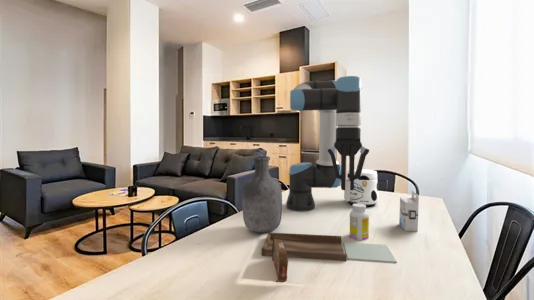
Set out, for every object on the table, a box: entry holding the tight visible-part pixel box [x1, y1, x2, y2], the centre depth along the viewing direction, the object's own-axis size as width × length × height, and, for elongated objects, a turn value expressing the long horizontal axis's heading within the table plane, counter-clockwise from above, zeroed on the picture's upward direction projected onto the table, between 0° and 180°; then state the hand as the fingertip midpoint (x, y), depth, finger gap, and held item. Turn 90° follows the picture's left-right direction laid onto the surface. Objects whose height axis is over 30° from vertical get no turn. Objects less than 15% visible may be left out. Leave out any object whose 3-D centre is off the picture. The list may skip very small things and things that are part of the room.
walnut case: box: [260, 232, 348, 262], centre depth 91 cm, size 15×26×3 cm, turn 81°
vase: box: [241, 155, 283, 234], centre depth 110 cm, size 16×16×30 cm
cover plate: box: [343, 241, 398, 264], centre depth 88 cm, size 12×14×2 cm
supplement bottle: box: [349, 204, 370, 241], centre depth 101 cm, size 7×7×13 cm
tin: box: [271, 239, 289, 282], centre depth 77 cm, size 15×3×8 cm, turn 5°
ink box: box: [398, 190, 420, 232], centre depth 112 cm, size 9×5×15 cm, turn 168°
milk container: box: [346, 168, 380, 207], centre depth 149 cm, size 17×17×18 cm
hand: (347, 199), depth 88 cm, fingers closed
